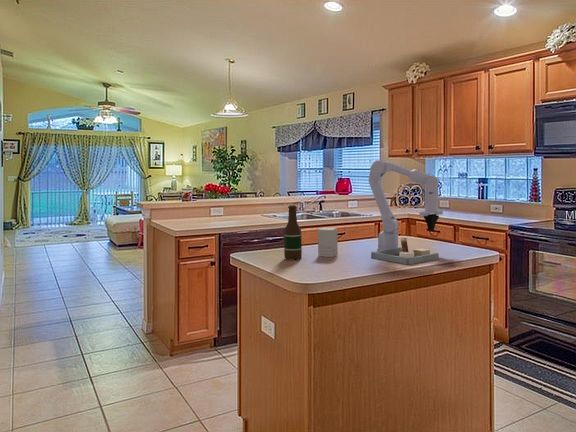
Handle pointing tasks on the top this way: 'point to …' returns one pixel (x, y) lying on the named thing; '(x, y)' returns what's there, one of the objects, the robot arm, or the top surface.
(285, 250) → the beer bottle
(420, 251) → the kraft box
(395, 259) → the tray
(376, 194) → the robot arm
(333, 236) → the supplement box
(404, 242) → the tin
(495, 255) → the top surface
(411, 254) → the white short round piece
